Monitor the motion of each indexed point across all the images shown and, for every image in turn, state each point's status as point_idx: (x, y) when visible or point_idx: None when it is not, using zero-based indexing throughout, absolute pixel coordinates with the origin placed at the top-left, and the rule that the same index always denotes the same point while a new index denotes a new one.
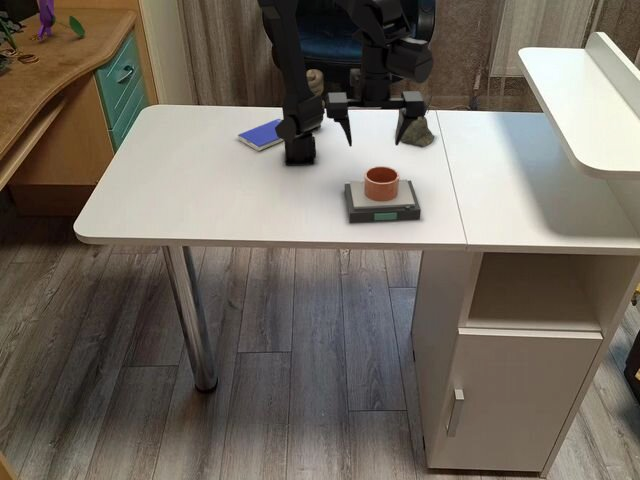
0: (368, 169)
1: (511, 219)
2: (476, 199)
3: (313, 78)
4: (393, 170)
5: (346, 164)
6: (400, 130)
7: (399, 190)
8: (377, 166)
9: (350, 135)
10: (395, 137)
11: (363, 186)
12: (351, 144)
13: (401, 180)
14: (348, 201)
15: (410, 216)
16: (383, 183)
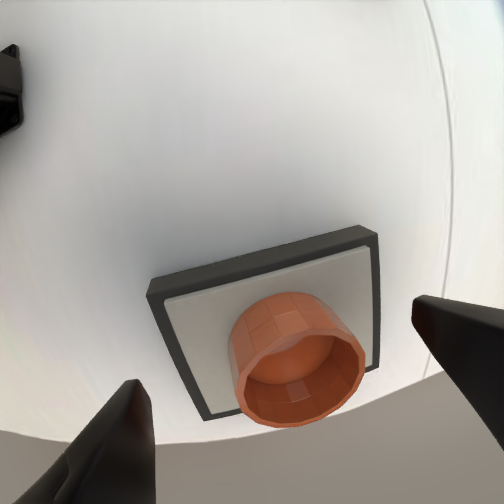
0: (248, 365)
1: (494, 296)
2: (476, 243)
3: None
4: (350, 343)
5: (125, 85)
6: (482, 417)
7: (341, 319)
8: (287, 337)
9: (151, 498)
10: (437, 321)
11: (220, 323)
12: (151, 418)
13: (352, 260)
14: (186, 383)
15: None
16: (308, 421)
